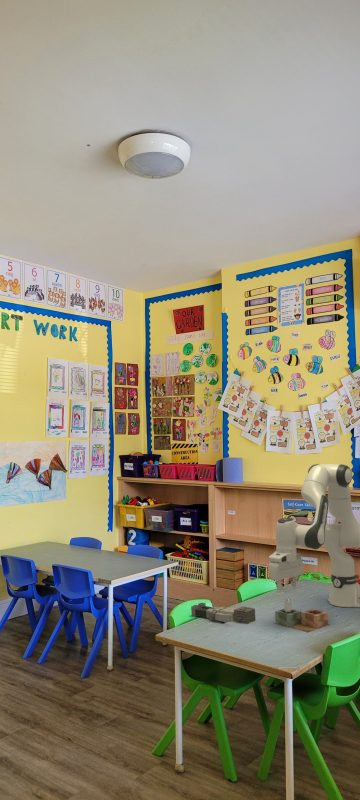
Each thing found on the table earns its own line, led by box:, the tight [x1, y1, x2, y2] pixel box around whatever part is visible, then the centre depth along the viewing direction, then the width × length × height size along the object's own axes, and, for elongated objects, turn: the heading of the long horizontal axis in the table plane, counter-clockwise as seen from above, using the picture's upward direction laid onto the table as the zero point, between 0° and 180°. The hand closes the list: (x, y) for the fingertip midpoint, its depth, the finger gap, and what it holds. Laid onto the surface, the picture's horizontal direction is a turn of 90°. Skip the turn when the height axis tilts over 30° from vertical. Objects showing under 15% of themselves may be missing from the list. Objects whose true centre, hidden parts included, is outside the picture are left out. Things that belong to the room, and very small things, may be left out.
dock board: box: [274, 607, 331, 633], centre depth 248 cm, size 16×18×6 cm
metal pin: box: [283, 598, 293, 613], centre depth 249 cm, size 3×3×10 cm
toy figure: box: [190, 602, 256, 625], centre depth 261 cm, size 11×7×30 cm
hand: (287, 587), depth 250 cm, fingers open, 8 cm apart
